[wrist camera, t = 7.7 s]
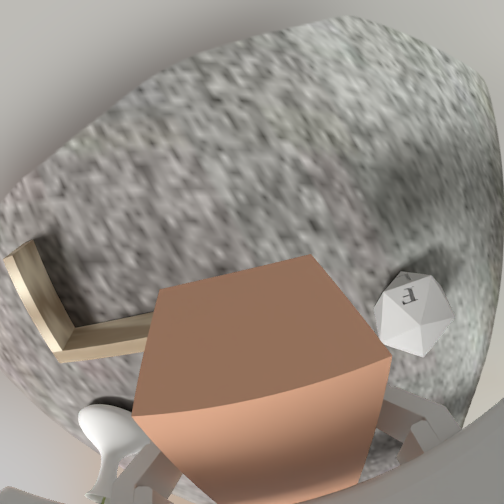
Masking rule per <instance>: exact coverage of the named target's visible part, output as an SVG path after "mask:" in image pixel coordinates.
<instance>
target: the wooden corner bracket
mask: <svg viewBox="0 0 504 504" xmlns="http://www.w3.org/2000/svg"><path fill="white" fill-rule="evenodd" d="M3 261H4V263H5V266H6V268H7V270H8V272H9V275H10V277H11V279H12V281H13V283H14V285H15V287H16V290H17V292H18V294H19V296H20V298H21V300H22V301H23V303H24V305H25V307H26V309H27V311H28V313H29V314H30V316H31V318H32V320H33V322H34V323H35V325H36V327H37V328H38V330H39V332H40V333H41V335H42V337H43V338H44V340H45V342H46V343H47V345H48V346H49V348H50V349H51V351H52V352H53V354H54V355H55V357H56V358H57V360H58V361H59V363H66V362H75V361H83V360H91V359H99V358H106V357H113V356H119V355H126V354H132V353H138V352H144V350H145V346H146V341H147V337H148V333H149V329H150V325H151V321H152V317H153V313H154V312H150V313H146V314H141V315H136V316H132V317H127V318H122V319H117V320H112V321H107V322H102V323H97V324H92V325H87V326H82V327H77V328H75V327H74V325H73V323H72V322H71V320H70V318H69V316H68V314H67V312H66V311H65V309H64V307H63V305H62V303H61V301H60V299H59V297H58V295H57V293H56V291H55V289H54V287H53V285H52V283H51V280H50V278H49V276H48V274H47V272H46V269H45V267H44V265H43V262H42V260H41V258H40V255H39V253H38V250H37V248H36V245H35V243H34V240H31V241H28V242H26V243H24V244H22V245H21V246H20V247H18V248H17V249H16V250H14V251H13V252H12V253H10V254H9V255H8V256H6V257H5V258H4V259H3Z"/></svg>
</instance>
